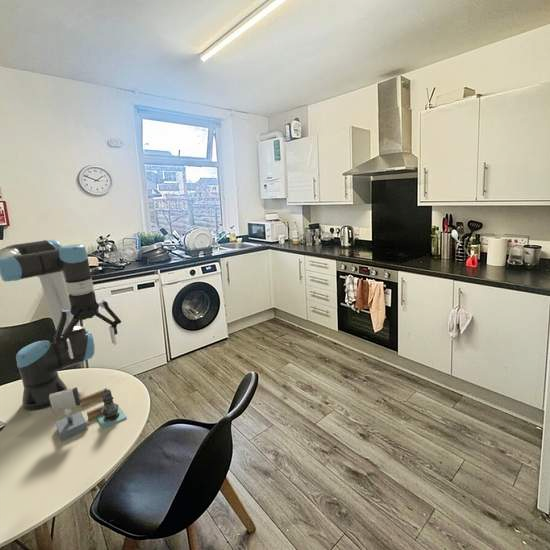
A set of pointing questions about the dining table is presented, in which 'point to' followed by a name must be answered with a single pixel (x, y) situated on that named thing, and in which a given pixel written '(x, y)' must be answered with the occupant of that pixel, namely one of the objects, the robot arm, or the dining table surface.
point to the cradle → (90, 399)
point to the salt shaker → (109, 407)
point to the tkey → (65, 401)
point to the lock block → (71, 426)
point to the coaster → (107, 424)
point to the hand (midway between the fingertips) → (93, 350)
